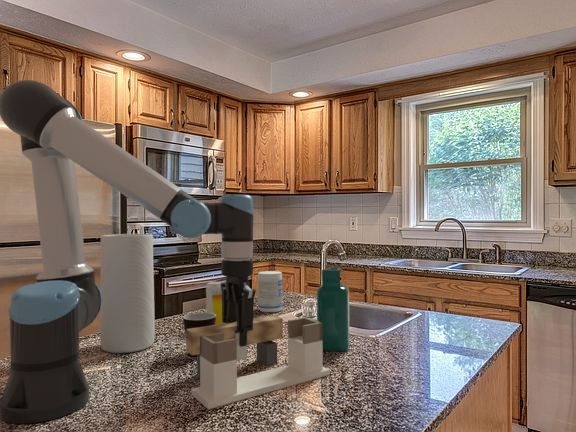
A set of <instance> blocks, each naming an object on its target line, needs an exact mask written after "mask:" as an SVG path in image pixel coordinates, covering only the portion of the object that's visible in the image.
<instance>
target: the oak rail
mask: <svg viewBox="0 0 576 432" xmlns="http://www.w3.org/2000/svg"><path fill="white" fill-rule="evenodd" d="M283 324H284V323H283V318H282V317H280V316H276V315H272V316H264V317H259V318H253V330H251V331H248V332H247V346H250V345H254V344H255V345H256V344H257V343H261V342H266V341H276V340H281V339H283V337H284V336H283V335H284V334H283V333H284V331H283V330H284V329H283V327H284V326H283ZM236 330H237V322H230V323H224V324H217V325H211V326H204V327H197V328H191V329H186V337H185V345H186V346H185V349H186V350H185V352H188V353H190V354H191V355H197V354H200V336H203V335H209V334H214V333H220V332H223V333H224V340H229V339H234V338H235V331H236ZM188 353H187V354H188Z"/></svg>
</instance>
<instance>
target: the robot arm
mask: <svg viewBox="0 0 576 432" xmlns="http://www.w3.org/2000/svg"><path fill="white" fill-rule="evenodd" d="M0 118H1V120H2V122H3V123H4V125H6V127H7V128H8V129H9V130H10V131H12V132H14V133H15V134H17V135H19V136H20V145H21V153H22V155H23V156H24V157H25V158H27V159H28V160H29V161H30V162H31V170H32V178H33V189H34V196H35V197H34V198H35V199H34V200H35V204H36V205H35V206H36V207H35V209H36V214H37V225H38V232H39V243H40V250H41V260H42V271H41V272H40V273H39V274H37V276H36V277H35V279H36V282H35V283H30V284H27V285H23V286H21V287H20V288H18V289H16V290H14V292H12V294H11V296H10V305H9V309H8V316H9V339H10V340H9V344H10V345H9V346H10V347H9V348H10V350H9V351H10V352H9V353H10V355H9V356H10V372H9V375H8V379H7V381H6V385H5V388H4V390H3V392H2V396H1V399H0V419H1V420H2V421H4V422H6V423H10V424H34V423H42V422H47V421H51V420H54V419H60V418H62V417H65V416H67V415H70V414H72V413H74V412H76V411H77V410H79V409H81V408H82V407H84V406H85V405H87V403H88V402H89V400H90V385H89V382H88V380H87V378H86V375H85V372H84V370H83V366H82V365H81V362H80V332H81V331H82V330H84V329H85V328H87V327H88V326H89V325H91V324H92V323H93V322H94V321H95V320H96V318H97V317H98V315H99V314H100V309H101V306H102V293H101V291H100V287H99V286H98V284H97V283H96V278H95V271H94V268H93V267H91V266H90V265H89V264H87V263H86V262H87V261H86V252H85V251H86V250H85V244H84V243H85V242H84V235H83V228H82V227H83V225H82V217H81V207H80V198H79V190H78V189H79V188H78V180H77V169H76V164H77V165H79V166H80V167H81V168H83V169H84V170H85V171H88V172H89V173H90V174H91V175H93V176H95V177H96V178H98V179H99V180H101V181H102V182H103V183H105V184H107V185H108V186H110V187H111V188H113V189H114V190H116V191H117V192H119V193H120V194H122V195H123V196H124V197H126V198H128V199H129V200H131V201H133V203H135V204H137V205H138V206H140V207H141V208H143V209H144V210H146V211H148V212H149V213H151V214H152V215H153V216H155V217H156V218H158V219H159V220H161V221H162V222H163V223H164V224H167V226H169V231H170V232H171V234H173V235H180V236H182V237H183V238H188V239H192V238H199V237H200V236H202V235H221V243H220V244H221V248H220V249H221V255H220V256H221V258H222V261H221V272H220V273H221V276H224V277H226V279H225V282H224V283H221V291H222V322H223V323H230V322H237V330H236V331H235V339H237V361H241V360H245V359H248V345H247V332H248V331H251V330H253V319H254V310H255V309H254V307H255V306H254V304H255V300H254V299H255V295H256V288H250V283H249V277H250V276H252V275H253V273H254V261H253V260H252V258H253V257H254V214H255V213H254V201H253V200H254V199H253V198H252V196H251V195H249V194H240V193H239V194H237V193H236V194H223V195H222V197H221V201H220V202H202V201H200V200H198V199H196V198H195V197H194V196H192V195H190V194H189V193H188V192H186V191H184V190H183V189H182V188H181V187H179V186H178V185H176V184H175V183H173V182H171V180H169V179H168V178H166V177H164V176H163V175H161V174H160V173H158V172H157V171H156V170H154V169H153V168H152V167H150V166H149V165H146V163H144V162H142V160H140V159H138V158H137V157H135V156H134V155H133V154H131V153H129V152H128V151H127V150H125V149H124V148H122V147H121V146H119V145H118V144H116V143H115V142H114V141H113V140H110V139H109V138H107V137H106V136H104V135H103V134H101V133H100V132H99V131H97V130H96V129H95V128H93V127H92V126H90V125H88V124H87V123H86V122H84V121H83V118H82V115H81V114H80V112H79V111H78V109H77V107H75V105H74V104H73V103H72V102H71V101H69V100H68V99H67V98H65V97H63V96H61V95H60V94H59V93H57V92H56V91H55V90H54V89H53V88H52V87H50V86H48V84H47V85H46V84H45V83H43V82H40V81H37V80H32V79H23V80H18V81H15V82H12V83H10V84H9V85H7V86H6V87H5V88H4V89H3V91H2V92H1V94H0Z"/></svg>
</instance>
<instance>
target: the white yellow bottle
mask: <svg viewBox="0 0 576 432" xmlns="http://www.w3.org/2000/svg"><path fill="white" fill-rule="evenodd" d="M221 283H225V282H224V281H211V282H207V283H206V286H205V293H206V294H205V296H206V297H205V302H206V303H205V305H206V306H205V307H206V309H205V310H206V312H205V313H213V314H215V315H216V320H215V325H217V324H224V323H223V322H222V291H221Z"/></svg>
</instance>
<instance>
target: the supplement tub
mask: <svg viewBox="0 0 576 432" xmlns="http://www.w3.org/2000/svg"><path fill="white" fill-rule="evenodd" d="M283 299H284V297H283V274H282V271H278V270H276V271H275V270H272V271H271V270H270V271H267V270H266V271H259V272H258V273H257V309H258V311H259V310H260V311H259V312H262V313H277V312H280V311H283V308H284V306H283V303H284V302H283V301H284V300H283Z"/></svg>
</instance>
